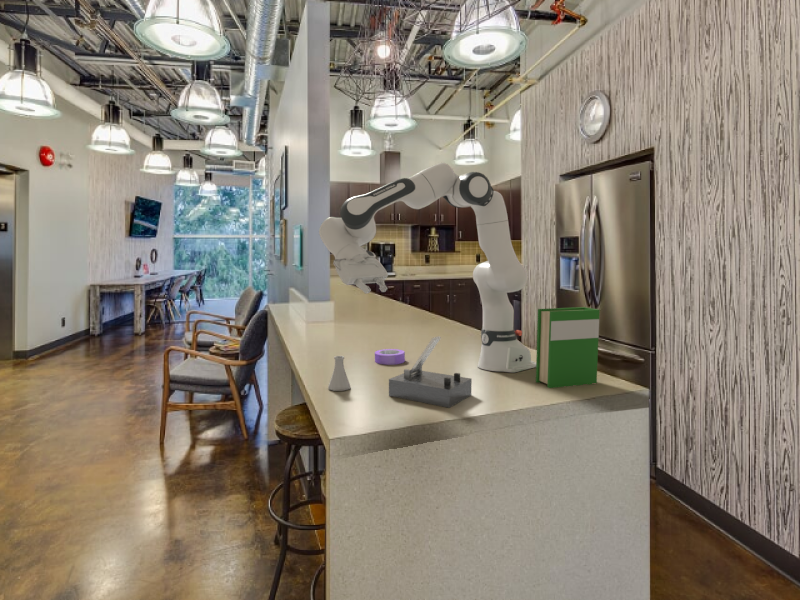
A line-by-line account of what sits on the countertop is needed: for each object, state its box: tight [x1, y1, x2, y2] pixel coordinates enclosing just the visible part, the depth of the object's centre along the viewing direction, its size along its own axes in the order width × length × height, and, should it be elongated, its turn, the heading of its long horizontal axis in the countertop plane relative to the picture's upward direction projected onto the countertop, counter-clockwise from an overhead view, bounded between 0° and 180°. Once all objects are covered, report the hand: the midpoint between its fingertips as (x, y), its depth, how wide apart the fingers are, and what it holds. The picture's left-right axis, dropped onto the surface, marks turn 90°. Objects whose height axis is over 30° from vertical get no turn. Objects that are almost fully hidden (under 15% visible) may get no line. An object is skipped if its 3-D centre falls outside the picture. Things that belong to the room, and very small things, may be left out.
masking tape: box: [374, 348, 406, 366], centre depth 186 cm, size 12×12×4 cm
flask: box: [327, 355, 351, 392], centre depth 148 cm, size 7×7×10 cm
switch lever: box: [410, 335, 442, 376], centre depth 141 cm, size 15×4×1 cm
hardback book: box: [535, 306, 601, 389], centre depth 154 cm, size 18×7×24 cm, turn 107°
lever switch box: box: [388, 366, 472, 409], centre depth 141 cm, size 20×14×8 cm
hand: (376, 291), depth 149 cm, fingers open, 7 cm apart
